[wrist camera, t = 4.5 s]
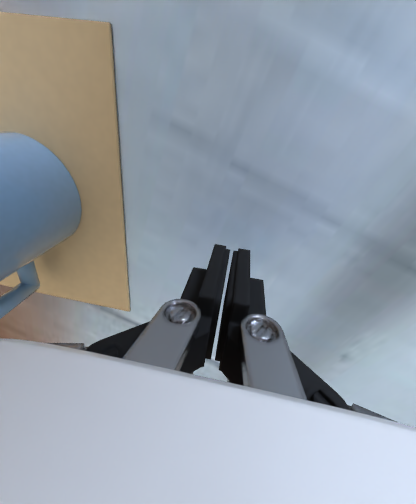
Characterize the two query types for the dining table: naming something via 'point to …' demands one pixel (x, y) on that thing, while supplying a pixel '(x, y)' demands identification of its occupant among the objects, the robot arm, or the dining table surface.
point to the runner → (71, 144)
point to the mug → (31, 211)
